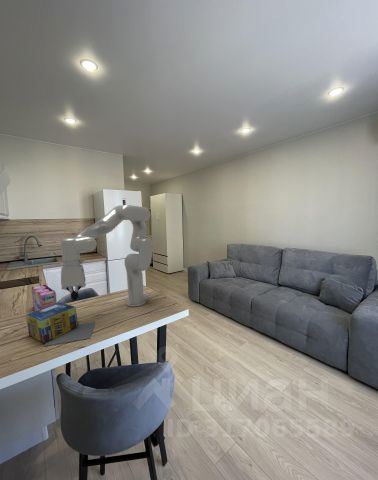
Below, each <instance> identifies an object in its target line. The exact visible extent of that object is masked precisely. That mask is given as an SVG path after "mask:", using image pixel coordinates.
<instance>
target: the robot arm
mask: <svg viewBox="0 0 378 480" xmlns="http://www.w3.org/2000/svg"><path fill="white" fill-rule="evenodd" d="M150 218H151V210H150V209H148V208H147V207H145V206H138V205H131V204H122V205H120V204H119V205H117V206H115V207H113V208H112V209H111V210H110V211H108V213H106V214H105V215H104V216H102V218H100V219H99V220H97V221H96V222H95V223H93V224H91V225H90V226H87V227H86V228H84V229H83V231H82V232H80V233H79V234H78V235H77V236H75V237H68V238H67V237H66V238H62V239H61V241H60V247H61V249H60V250H61V259H62V267H61V270H60V285H61V290H65V291H68V292H69V293H70V299H72V301H77V300H78V299H79V290H81V289H82V288H85V287H86V286H87V284H86V276H85V270H84V266H83V264H84V259H81V254H80V252H81V253H82V252H83V253H84V252H86V253H87V252H92V251H94V250H95V249H96V248H97V246H98V241H97V240H96V239H97V238H99V237H101V236H104V235H106V234H109V233H111V232H113V231H114V230H115V228H117V227H118V226H119V225H120V224H121V223H122V222H123V221H130V223H131V224H132V234H131V237H130V238H131V239H130V244H129V247H130V250H132V251H133V252H137V253H128V254H127V255H126V256H125V258H124V266H125V270H126V281H127V297H128V299H127V300H126V301H125V302H126V303H125V305H126V306H128V307H134V308H135V307H141V306H143V305H145V304H146V303H147V300H151V299H152V295H149V294H146V295H145V293H144V292H145V291H144V279H143V278H144V277H143V272H144V271H147V270H148V269H149V268H150V265H151V263H152V258H153V252H154V242H153V240H152V239H151V238H150V237H148V236H147V231H148V228H147V225H146V222H147V221H149V220H150Z"/></svg>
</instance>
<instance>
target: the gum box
mask: <svg viewBox="0 0 378 480" xmlns="http://www.w3.org/2000/svg"><path fill="white" fill-rule="evenodd" d="M31 295H32V305H33V309H34V312H35V311H38V310H40V309H43V308H46V307H48V306H51V305H54V304H56V303H58V302H57V293H56V291H55V290H53V289H52V288H51V287H49V286H48V285H47V284H42V285H41V286H35V287H34V286H32V287H31Z"/></svg>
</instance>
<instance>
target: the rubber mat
mask: <svg viewBox="0 0 378 480" xmlns="http://www.w3.org/2000/svg"><path fill="white" fill-rule="evenodd" d="M95 323H96V321H91V322H83V323H78V327H76V328H74V329H72V330H70V331H68V332H66V333H64V334H62V335H60V336H58V337H56V338H54V339H52V340H50V341H48V342H46V343H44V346H43V347H44V348H46V347H52V346H57V345H61V344H69V343H73V342H80V341H83V340H84V341H85V340H89V339H91V337H92V334H93V332H94V326H95Z"/></svg>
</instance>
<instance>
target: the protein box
mask: <svg viewBox="0 0 378 480" xmlns="http://www.w3.org/2000/svg"><path fill="white" fill-rule="evenodd" d="M25 316H26V323H27V329H28V330H27V331H28V335H29V336H30V337H32V338H33V339H36V340H37V341H40V342H41V343H44V344H46V343H47V342H48V341H50V340H52V339H54V338H56V337H58V336H60V335H62V334H64V333H66V332H68V331H70V330H72V329H74V328H76V327H78V324H79V321H78V314H77V307H76V306H73V305H71V304H67V303H63V302H59V301H58V302H57V303H56V304H54V305H51V306H48V307H46V308H43V309H40V310H38V311H35V310H34V311H33V312H30V313H27V314H25Z"/></svg>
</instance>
